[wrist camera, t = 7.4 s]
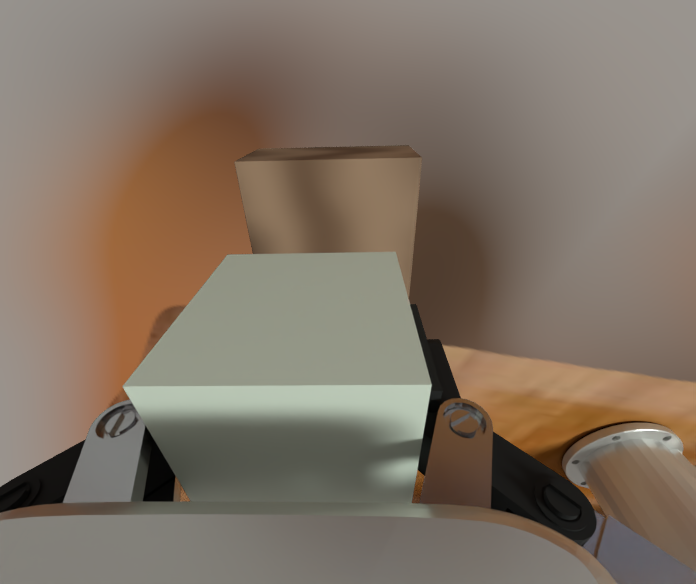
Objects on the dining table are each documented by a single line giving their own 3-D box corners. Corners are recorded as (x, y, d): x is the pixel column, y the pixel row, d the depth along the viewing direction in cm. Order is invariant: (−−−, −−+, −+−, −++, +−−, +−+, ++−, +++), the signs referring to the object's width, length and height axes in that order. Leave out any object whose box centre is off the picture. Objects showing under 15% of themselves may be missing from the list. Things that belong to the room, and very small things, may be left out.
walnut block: (408, 145, 21) (422, 157, 16) (399, 277, 26) (407, 312, 22) (258, 148, 21) (234, 161, 17) (279, 278, 26) (264, 313, 22)
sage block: (395, 251, 11) (431, 384, 6) (388, 372, 14) (407, 526, 9) (227, 254, 11) (122, 386, 6) (257, 373, 14) (205, 524, 9)
